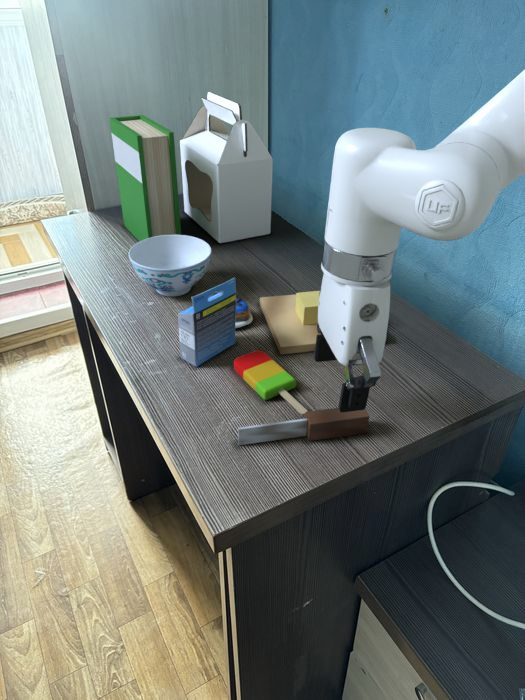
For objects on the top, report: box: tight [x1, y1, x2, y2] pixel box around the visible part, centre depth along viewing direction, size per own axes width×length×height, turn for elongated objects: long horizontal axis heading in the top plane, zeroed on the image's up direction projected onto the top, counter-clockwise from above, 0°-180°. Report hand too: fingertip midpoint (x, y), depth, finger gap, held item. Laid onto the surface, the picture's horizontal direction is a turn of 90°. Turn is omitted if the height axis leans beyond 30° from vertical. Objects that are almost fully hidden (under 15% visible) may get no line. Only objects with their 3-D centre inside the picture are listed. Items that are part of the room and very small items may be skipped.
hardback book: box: [108, 114, 182, 242], centre depth 113 cm, size 18×7×24 cm, turn 30°
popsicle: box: [233, 350, 309, 416], centre depth 75 cm, size 6×15×2 cm, turn 34°
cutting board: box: [259, 293, 388, 356], centre depth 90 cm, size 18×16×2 cm
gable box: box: [179, 91, 274, 244], centre depth 119 cm, size 22×13×28 cm, turn 28°
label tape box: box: [177, 277, 237, 368], centre depth 79 cm, size 9×4×12 cm, turn 139°
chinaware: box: [128, 234, 212, 297], centre depth 97 cm, size 15×15×8 cm
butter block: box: [295, 290, 321, 325], centre depth 88 cm, size 7×5×4 cm
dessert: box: [235, 297, 254, 329], centre depth 90 cm, size 8×7×6 cm
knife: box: [237, 407, 370, 446], centre depth 67 cm, size 17×2×3 cm, turn 102°
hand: (338, 383), depth 64 cm, fingers open, 9 cm apart
